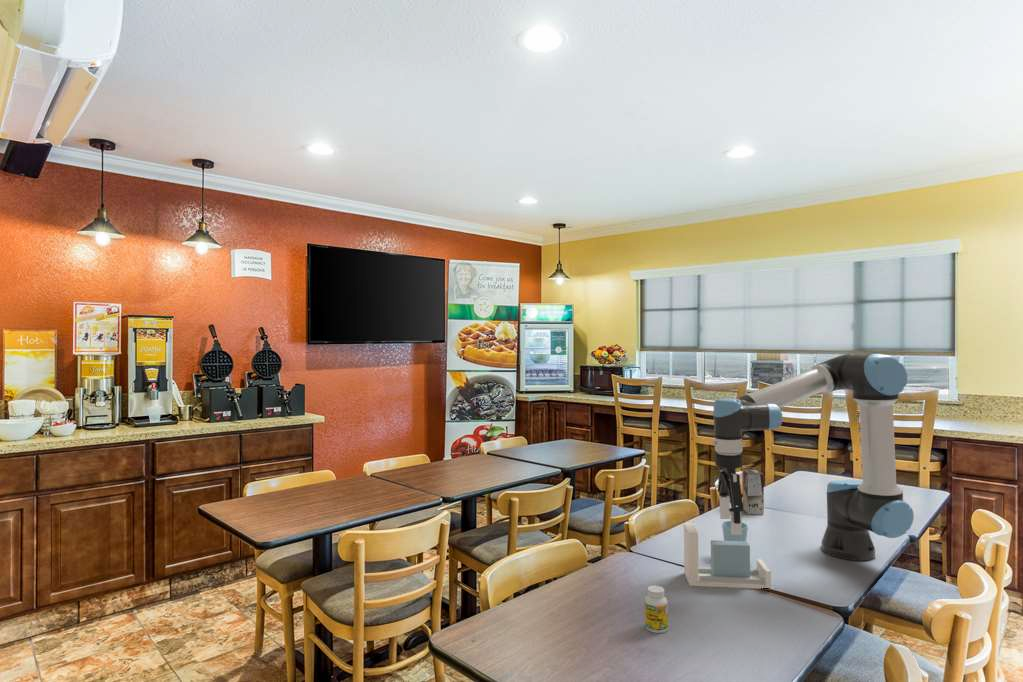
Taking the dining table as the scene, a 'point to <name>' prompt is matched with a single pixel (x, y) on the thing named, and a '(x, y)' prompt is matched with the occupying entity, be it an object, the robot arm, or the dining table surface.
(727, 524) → the cup
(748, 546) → the door panel
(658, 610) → the supplement bottle
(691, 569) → the track board
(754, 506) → the coffee box
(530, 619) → the dining table surface
